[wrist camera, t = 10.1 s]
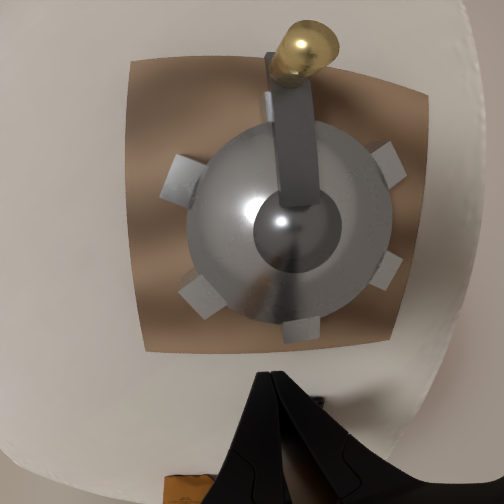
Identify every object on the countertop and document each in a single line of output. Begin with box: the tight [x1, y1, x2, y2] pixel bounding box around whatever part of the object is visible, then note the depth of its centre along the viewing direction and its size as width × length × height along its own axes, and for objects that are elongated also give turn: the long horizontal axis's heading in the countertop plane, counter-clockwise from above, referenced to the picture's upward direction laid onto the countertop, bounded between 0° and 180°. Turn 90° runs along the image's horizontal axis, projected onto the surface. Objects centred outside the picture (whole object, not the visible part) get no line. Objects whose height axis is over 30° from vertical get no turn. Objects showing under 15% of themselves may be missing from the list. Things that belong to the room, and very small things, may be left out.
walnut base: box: [125, 56, 429, 354], centre depth 18 cm, size 20×20×2 cm
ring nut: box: [159, 20, 407, 344], centre depth 14 cm, size 14×17×7 cm
